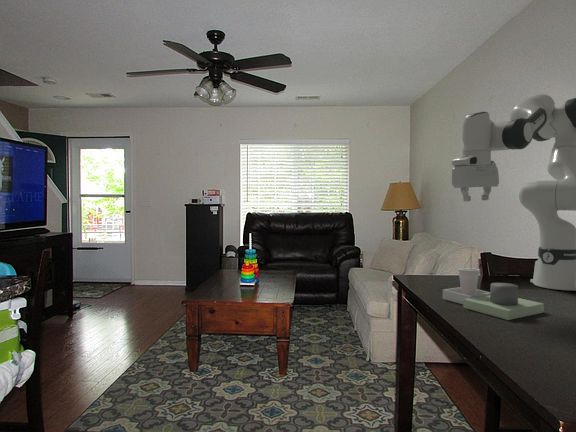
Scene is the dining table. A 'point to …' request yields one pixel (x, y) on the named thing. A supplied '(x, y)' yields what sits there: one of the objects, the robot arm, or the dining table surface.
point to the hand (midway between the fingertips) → (476, 200)
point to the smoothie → (468, 279)
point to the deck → (502, 309)
